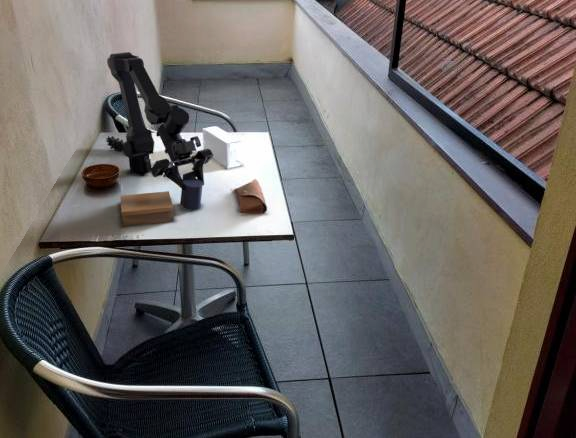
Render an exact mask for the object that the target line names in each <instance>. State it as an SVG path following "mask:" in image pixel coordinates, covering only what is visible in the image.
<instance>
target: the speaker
mask: <svg viewBox="0 0 576 438" xmlns="http://www.w3.org/2000/svg"><path fill="white" fill-rule="evenodd" d="M196 174H197V170H194V171H193V170H191V171H189V172H185V173H182V180H183V182H184V184H185V188H186V190H185V191H184V190H183V189H181V191H180V203H179V204H180V206H181V207H183V209H185V210H187V211H188V210H189V211H197V210H199V209H200V208H201V203H202V195H203V187H204V185H203V182H202V181H201V180H199V179H197V177H196Z"/></svg>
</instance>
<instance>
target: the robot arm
mask: <svg viewBox="0 0 576 438" xmlns="http://www.w3.org/2000/svg"><path fill="white" fill-rule="evenodd" d="M106 62H107V67H108V69H109V71H110V74H111V76H112V77H113V78H114V79H115V81H116V82H118V86H119V89H120V95H121V98H122V103H123V109H124V111H125V116H126V120H127V124H128V129H127V132H126V134H125V139H126V141H127V142H126V144H125V146H124V148H123V151H122V153H123V152H124V153H123V155H124V157H126V158H128V164H129V170H127V174H131V175H137V176H143V177H144V176H145V175H148V173H151V175H152V177H153V178H158V177H161V176H162V177H163V178H167V179H168V180H170V181H171V182H173V183H174V184H175V185H177V186H178V187H179V188H180V189H181V190H182V189H183V190H184V191H185V190H186V188H185V184H184V182H183V180H182V179H183V177H182V176H181V174H180V171H179V167H182V166H187V165H192V168H191V171H194V170H197V174H196V179H199V180H201V181H202V182H203V186H204V185H205V178H204V166H205V165H207V164H208V163H209V162H210V161H211V160H212V159H213V156H214V155H213V153H212V151H211V150H210V149H204V150H203V149H200V150H198V148H200V147H202V142H201V140H200V138H199V136H198V135H194V136H192V137H190V138H189V140H186V139H185V138H184V139H182V135H181V134H182V133H183V131H184V129H185V128H186V127H187V125H188V123H189V122H190V114H189V113H188V111H186V110H185V109H183V108H181V107H179V105H178V104H173V105H170V103H169V101H168V100H167V98H165V97H163V96H162V95H160V94H159V92H158V90H157V88H156V87H155V85H154V83H153V81H152V79H151V77H150V74H149V73H148V71H147V70H146V68H145V63H144V60H143V59H142V58H141V57H139V55H136V54H135V55H134V54H133V53H132V52H130V51H126V52H125V51H123V52H115V53H110V55H109V56H108V57H107V59H106ZM137 91H138V92H139V95H140V97H141V99H142V100H143V103H144V109H143V111H144V114H145V118H146V120H147V122H148V123H149V124H150V125H152V126H155V125H159V126H158V127H157V130H156V133H155V135H156V137H157V138H158V137H159V138H160V141H161V142H162V145H163V147H164V154H166V155H168V157H169V159H170V160H169V159H168V158H162V159H159V160H156V161H155V162H154V163H153V165H152V159H151V158H150V155H153V154H154V149H155V140H154V138H153V132H152V130H151V129H150V128H149V129H148V127H146V125H145V123H144V119H143V115H142V111H141V106H140V101H139V97H138V93H137ZM194 152H196V154H194ZM193 154H194V155H193Z"/></svg>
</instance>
